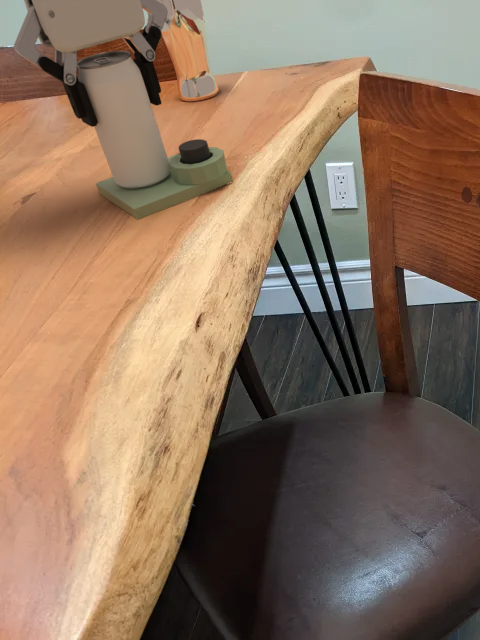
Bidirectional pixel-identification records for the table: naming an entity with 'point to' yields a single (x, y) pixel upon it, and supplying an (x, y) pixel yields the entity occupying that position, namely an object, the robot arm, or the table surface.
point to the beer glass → (188, 49)
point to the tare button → (194, 151)
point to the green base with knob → (170, 185)
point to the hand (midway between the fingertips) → (122, 111)
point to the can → (124, 119)
